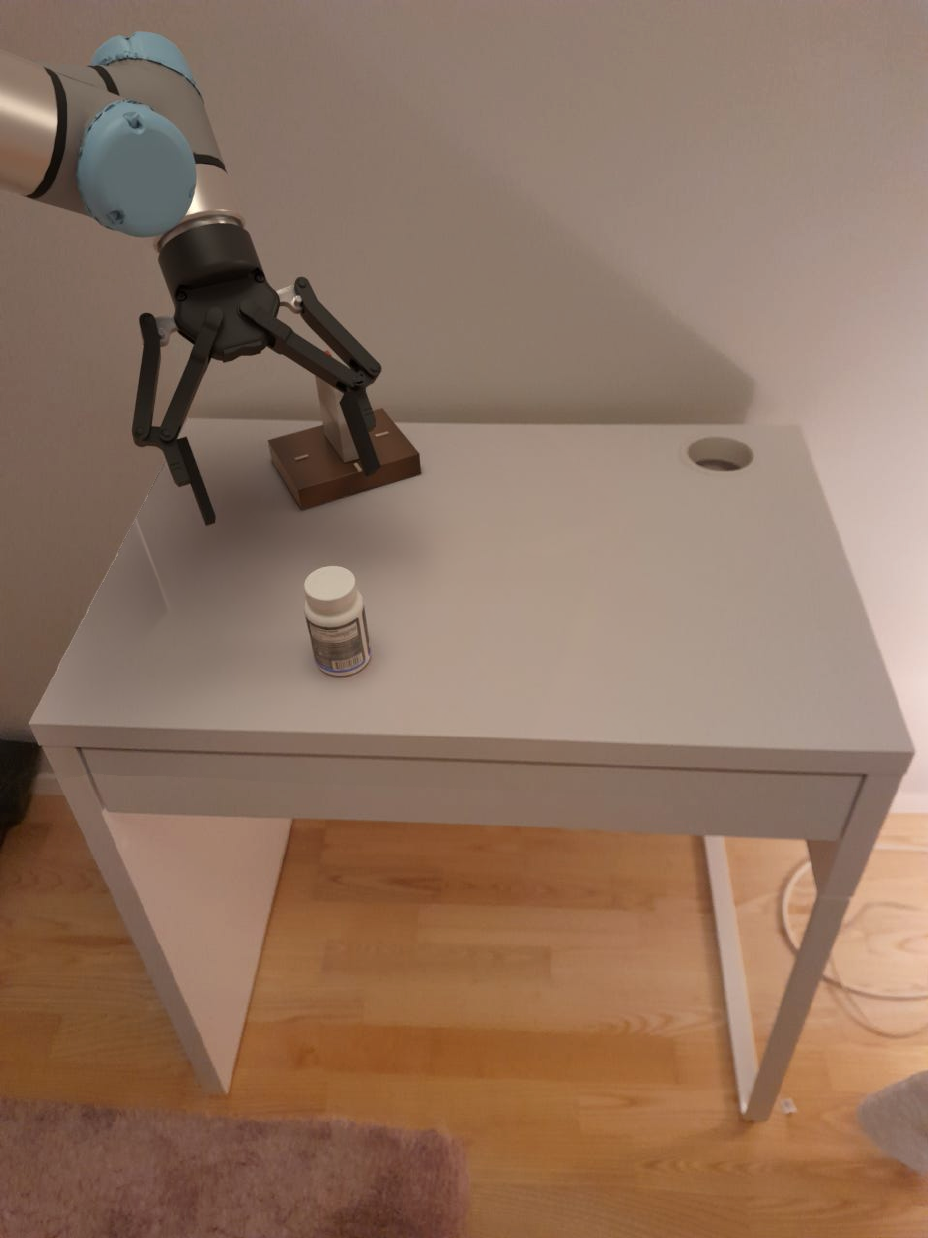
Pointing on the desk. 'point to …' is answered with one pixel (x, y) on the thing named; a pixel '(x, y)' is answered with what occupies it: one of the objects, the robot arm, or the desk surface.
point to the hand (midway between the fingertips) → (294, 496)
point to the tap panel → (340, 463)
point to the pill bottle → (336, 621)
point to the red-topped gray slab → (335, 420)
